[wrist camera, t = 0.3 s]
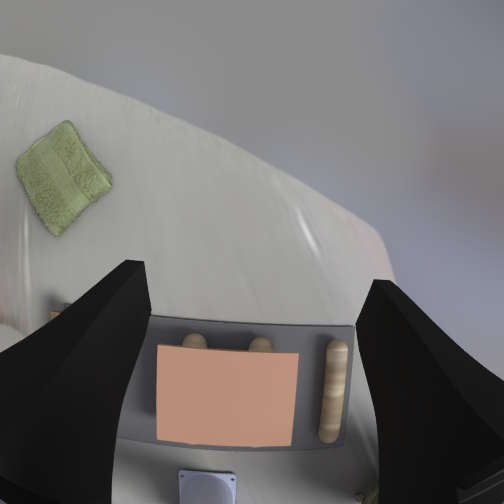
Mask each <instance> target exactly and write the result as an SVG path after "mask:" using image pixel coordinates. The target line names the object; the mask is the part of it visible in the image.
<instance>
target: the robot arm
mask: <svg viewBox="0 0 504 504" xmlns="http://www.w3.org/2000/svg"><path fill="white" fill-rule="evenodd" d="M151 310H152V309H151V303H150V298H149V291H148V285H147V279H146V272H145V265H144V261H135V260H125V261H124V262H122V263H121V264H120V265H118V266H117V267H116V268H115V269H114V270H112V271H111V272H110V273H109V274H108V275H106V276H105V277H104V278H103V279H102V280H100V281H99V282H98V283H97V284H96V285H94V286H93V287H92V288H91V289H90V290H89V291H87V292H86V293H85V294H84V295H83V296H81V297H80V298H79V299H78V300H76V301H75V302H74V303H73V304H71V305H70V306H69V307H68V308H66V309H65V310H64V311H62V312H61V313H60V314H59V315H57V316H56V317H55V318H54V319H52V320H51V321H49V322H48V323H47V324H45V325H44V326H43V327H41V328H40V329H38V330H37V331H35V332H34V333H32V334H31V335H29V336H28V337H26V338H25V339H23V340H21V341H19V342H18V343H16V344H14V345H13V346H11V347H9V348H8V349H6V350H4V351H3V352H1V353H0V504H111V496H112V472H113V460H114V451H115V444H116V437H117V430H118V424H119V419H120V414H121V409H122V404H123V400H124V397H125V393H126V390H127V387H128V384H129V381H130V379H131V376H132V373H133V370H134V367H135V364H136V362H137V359H138V356H139V353H140V350H141V348H142V345H143V342H144V339H145V336H146V332H147V328H148V323H149V319H150V315H151ZM355 325H356V332H357V340H358V346H359V352H360V356H361V360H362V363H363V367H364V371H365V375H366V378H367V382H368V386H369V390H370V394H371V398H372V402H373V406H374V411H375V416H376V423H377V433H378V445H379V494H378V504H504V381H503V380H502V379H500V378H499V377H497V376H496V375H495V374H493V373H492V372H490V371H489V370H488V369H486V368H485V367H484V366H482V365H481V364H480V363H479V362H477V361H476V360H475V359H474V358H473V357H471V356H470V355H469V354H468V353H466V352H465V351H464V350H463V349H462V348H461V347H460V346H459V345H457V344H456V343H455V342H454V341H453V340H452V339H451V338H450V337H449V336H448V335H447V334H446V333H444V331H443V330H441V329H440V328H439V327H438V326H437V325H436V324H435V323H434V322H433V321H432V320H431V319H430V318H429V317H428V316H427V315H426V314H425V313H424V312H423V311H422V310H421V309H420V308H419V307H418V306H417V305H416V304H415V303H414V302H413V301H412V300H411V299H410V298H409V297H408V296H407V295H406V294H405V293H404V292H403V291H402V290H401V289H400V288H399V287H398V286H396V285H395V284H394V283H393V282H392V281H390V280H377V279H374V280H373V283H372V285H371V288H370V290H369V293H368V295H367V298H366V300H365V303H364V305H363V308H362V310H361V312H360V315H359V317H358V319H357V322H356V324H355ZM181 475H183V476H181ZM232 478H233V479H234V480H231V479H232ZM235 492H236V474H234V473H214V472H200V471H189V470H180V471H179V496H180V503H179V504H235Z"/></svg>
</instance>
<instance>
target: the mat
mask: <svg viewBox="0 0 504 504" xmlns="http://www.w3.org/2000/svg"><path fill="white" fill-rule="evenodd" d="M69 306H70V305H68V304H64V310H65V309H66V308H68V307H69ZM192 333H197V334H200V335H202V336H203V337H204V338H205V339H206V342H207V348H214V349H229V350H248V349H249V345H250V343H251V342H252V341H253V340H254V339H256V338H259V337H262V338H266V339H268V340H269V341H270V342H271V343H272V345H273V351H278V352H297V353H299V359H298V373H297V385H296V397H295V408H294V419H293V429H292V439H291V446H264V447H258V448H252V447H249V446H218V445H203V444H196V445H190V444H187V443H182V442H173V441H165V440H158V439H157V408H156V398H157V352H158V344H169V345H179V346H183V341H184V339H185V337H186V336H188V335H189V334H192ZM354 333H355V327H325V326H281V325H258V324H239V323H224V322H210V321H197V320H186V319H175V318H165V317H156V316H150V319H149V323H148V328H147V332H146V336H145V339H144V342H143V345H142V348H141V350H140V353H139V356H138V359H137V362H136V364H135V367H134V370H133V373H132V376H131V379H130V381H129V384H128V387H127V390H126V393H125V397H124V400H123V404H122V409H121V414H120V419H119V424H118V430H117V437H119V438H124V439H129V440H134V441H140V442H145V443H152V444H158V445H166V446H173V447H182V448H192V449H204V450H220V451H290V450H306V449H318V448H328V447H336V446H342V445H343V439H344V432H345V425H346V418H347V410H348V402H349V393H350V384H351V373H352V362H353V349H354ZM336 339H340V340H343V341H344V342H345V343H346V344H347V347H348V356H347V368H346V379H345V389H344V399H343V407H342V415H341V423H340V430H339V436H338V438H337V439H336V440H335V441H334V442H331V443H325V442H323V441H321V440H320V438H319V426H320V417H321V408H322V399H323V389H324V378H325V366H326V352H327V346H328V344H329V343H330V342H331V341H333V340H336Z"/></svg>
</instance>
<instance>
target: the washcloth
mask: <svg viewBox="0 0 504 504" xmlns="http://www.w3.org/2000/svg"><path fill="white" fill-rule="evenodd" d="M16 169H17V171H18V177H19V179H20V182H22V184H23V186H24V188H25V190H26V192H27V195H28V197H29V198H30V201H31V204H32V205H33V206H34V207H35V211H36V213H37V214H38V217H39V218H40V219H41V221H42V222H43V223H44V225H45V226H46V227H47V229H48V230H49V231H50V233H51V234H53V235H54V237H58V236H60V235H61V234H62V232H63V231H65V230H66V228H68V226H69V225H70V224H71V223H72V222H73V221H74V220H76V219H77V218H78V217H79V215H80V213H81V212H82V211H83V210H84V209H85V208H87V206H88V205H89V204H91V203H94V202H95V201H97V200H98V198H99V197H101V196H102V195H104V194H105V193H107V192H108V191H109V190H110V189H111V188H112V184H111V177H112V176H111V174H110V173H109V172H108V171H107V168H105V167H104V166H103V165H102V164H101V162H99V161H98V160H97V159H96V158H95V156H94V155H93V154H92V153H91V151H90V150H89V149H88V148H87V146H86V144H85V143H84V142H83V140H82V139H80V136H79V133H78V132H77V129H76V128H75V126H74V125H73V124H72V122H71V121H70V120H66V121H64V122H63V123H62V124H60V125H58V126H57V127H56V128H55V129H54V130H53V131H51V132H50V133H49V134H48V135H46V136H44V137H42V138H41V139H39V140H38V141H37V142H35V144H34V145H33V146H32V148H31V149H30V150H29V151H28V152H27V153H25V154H24V155H22V156H21V157H19V158H18V159H17V165H16Z"/></svg>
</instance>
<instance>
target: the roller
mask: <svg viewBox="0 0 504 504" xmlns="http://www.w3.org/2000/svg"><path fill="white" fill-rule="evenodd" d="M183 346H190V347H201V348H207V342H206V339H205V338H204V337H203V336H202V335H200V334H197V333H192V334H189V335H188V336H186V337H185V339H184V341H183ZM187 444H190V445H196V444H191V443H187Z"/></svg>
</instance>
